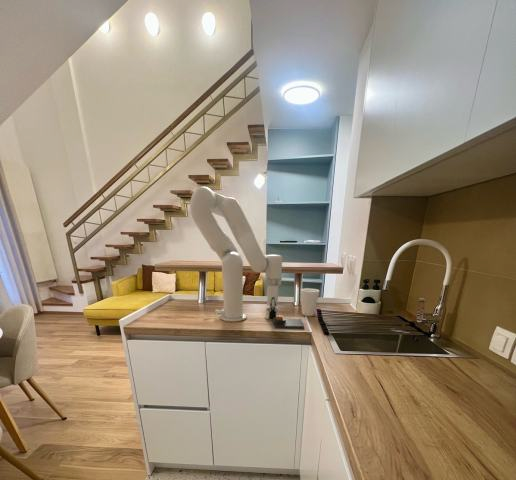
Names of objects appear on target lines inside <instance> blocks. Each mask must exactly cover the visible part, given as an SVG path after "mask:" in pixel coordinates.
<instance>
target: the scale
mask: <svg viewBox="0 0 516 480" xmlns="http://www.w3.org/2000/svg"><path fill="white" fill-rule="evenodd" d="M272 323H273V324H274V329H279V330H282V329H283V330H286V329H287V330H304V328H305V326H304V323H303V320H302V318H285V317H283V320H276V317H274V318H273V320H272Z"/></svg>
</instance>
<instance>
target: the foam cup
mask: <svg viewBox="0 0 516 480" xmlns="http://www.w3.org/2000/svg"><path fill="white" fill-rule="evenodd" d="M319 296H320V290H319V289H317V288H309V287H306V288H301V289H300V299H301V300H300V302H301V303H300V305H301V315H303V316H307V317H312V316H314V315H315V312H316V308H317V303H318V299H319Z"/></svg>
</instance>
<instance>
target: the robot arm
mask: <svg viewBox="0 0 516 480" xmlns="http://www.w3.org/2000/svg"><path fill="white" fill-rule="evenodd" d="M189 210H190V214H191V217H192V220H193V222H194V224H195V225H196V227H197V228H198V230H199V232H200V234H201V235H202V236H203V238H204V239H205V241H206V242H207V244H208V246H209V248H210V249H211V250H212V251H213V252H214V253H215V254H216V255H217V257H218V258H219V259H220V261H221V275H222V276H221V277H222V296H223V297H222V299H223V300H222V301H223V308H222V309H215V310H214V314H216V315H220V319H221V320H222V321H224V322H231V323H232V322H233V323H234V322H242V321H245V320H246V319H247V315H246V314H245V313H244V284H243V283H244V281H243V280H244V278H243V276H244V275H243V272H244V262H243V256H242V255H241V253H240V252H239V250H238V248H237V247H236V246H235V244H234V242H233V241H232V239H231V238H230V236H229V235H228V233H227V232H225V231H223V229H222V228H221V225H219V223H218V221H217V219H216V218H215V216H214V215H217V216H220V217H222V218H224V220H225V222H226V224H227V226H228V227H229V229H230V231H231V233H232V235H233V237H234V239H235V241H236V243H237V244H238V246H239V248H240V249H241V251H242V253H243V255H244V257H245V259H246V261H247V262H248V265H249V267H250V268H251V270H252V271H253V272H255V273H263V272H264V271H265V285H266V286H267V288H266V289H267V291H266V306H268V308H270V311H269V319H273V318H274V317H276V308H277V306H278V300H279V286H282V275H283V274H282V273H283V271H282V270H283V257H282V255H281V254H264V253H263V251H262V249H261V247H260V245H259V243H258V240H257V239H256V237H255V233H254V230H253V229H252V227H251V225H250V223H249V221H248V219H247V217H246V215H245V213H244V211H243V209H242V207H241V205H240V202H239V201H238V200H237V199H236V198H234V197H228V196H227V197H226V196H224V195H222V194H219V193H217V192H214V191H213V190H212V189H210V188H209V187H207V186H198V187H197V188H196V189H195V190H194V191H193V193H192V195H191V198H190V202H189ZM213 214H214V215H213ZM269 319H268V320H269Z"/></svg>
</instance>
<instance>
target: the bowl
mask: <svg viewBox="0 0 516 480" xmlns="http://www.w3.org/2000/svg"><path fill="white" fill-rule="evenodd" d="M269 311H270V308H269V307H266V308H265V319H267V320H270V321H273V319H269ZM276 315H280V309H279V308H277V307H276Z"/></svg>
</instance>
